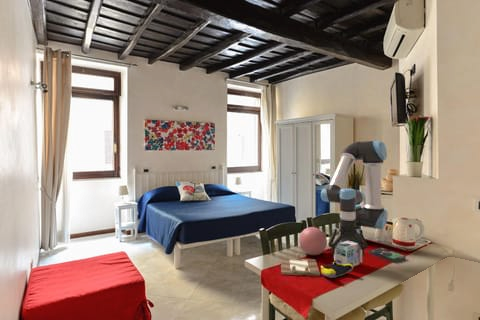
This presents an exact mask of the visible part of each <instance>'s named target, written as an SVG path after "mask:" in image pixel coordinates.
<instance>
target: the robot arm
mask: <svg viewBox="0 0 480 320" xmlns="http://www.w3.org/2000/svg"><path fill="white" fill-rule="evenodd" d="M387 153H388V152H387V146H386V145H385V143H384V142H383V141H382V140H371V141H370V140H368V141H366V140H365V141H355V142H352V143H350V144H349V145H348V146H345V148H344V149H343V150H342V152H341V154H340V155H339V162H338V164H337V167H336V169H335V171H334V174H333V176H332V178H331V181H330V182H329V184H328V187H326V188H323V189H322V190H321V191H320V198H321V200H322V201H323V202H326V203H327V202H328V203H335V204H336V203H337V204H339V218H340V219H339V228H336V227H333V229H332V230H333V231H332V234H331V237H330V239H329V240H328V242H327V246H328V247H329V248H331V254H332V255H333V260H334V262H336V246H337V244H339V243H341V242H346V241H351V242H354V243H358V244H359V263H363V256H365V249H369V245H368V243H367V241H366V239H365V236H364V234H363V230H362V227H365V228H369V229H370V228H372V229H378V230H383V229H384V228H385V227H386V224H387V223H388V222H387V221H388V215H389V213H388V211H387V210H385V206H384V205H383V204H382V173H381V172H382V171H381V170H382V165H383V164H384V161H386V159H387V157H388V154H387ZM356 161H362V164H363V165H364V168H365V195H364V193H363V192H362V191H361V190H359V189H354V188H347V187H346V188H343V187H344V186H345V184H346V181H347V178H348V175H349V173H350V171H351V169H352V166H353V165H354V164H355V163H356ZM364 200H365V204H363V207H362V205H361V204H362V203H363V202H364ZM338 233H339V235H338V237H337V234H338ZM336 237H337V238H336Z"/></svg>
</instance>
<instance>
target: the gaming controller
mask: <svg viewBox="0 0 480 320" xmlns="http://www.w3.org/2000/svg"><path fill="white" fill-rule="evenodd" d="M353 270H354V266H353V265H352V264H344V265H339V264H338V263H336V261H333V262H332V263H331V264H328V265H325V266H324V265H320V274H321V275H323V276H324V277H327V278H330V279H335V278H337V277H339V276H340V277H341V276H343V275H344V276H345V275H346V274H348V273H350V272H352V271H353Z"/></svg>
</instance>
